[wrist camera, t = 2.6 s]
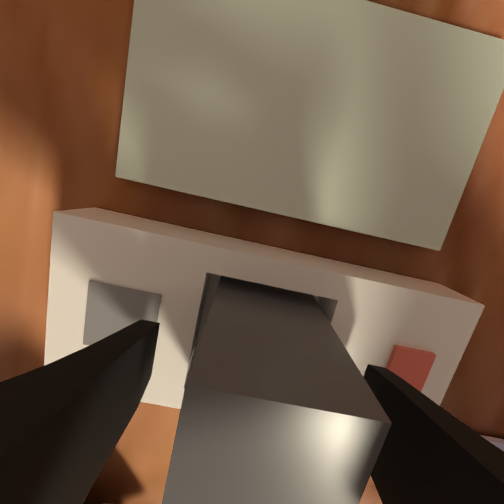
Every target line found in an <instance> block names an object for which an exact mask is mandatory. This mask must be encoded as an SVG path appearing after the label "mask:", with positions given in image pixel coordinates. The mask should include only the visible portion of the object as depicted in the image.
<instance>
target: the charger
mask: <svg viewBox="0 0 504 504" xmlns="http://www.w3.org/2000/svg"><path fill="white" fill-rule="evenodd" d="M391 424H392V423H391V421H390V419H389V418H388V416H387V415H386V413H385V411H384V410H383V408H382V406H381V405H380V403H379V402H378V400H377V398H376V397H375V395H374V393H373V392H372V390H371V389H370V387H369V385H368V384H367V382H366V380H365V379H364V377H363V376H362V374H361V372H360V371H359V369H358V368H357V366H356V364H355V363H354V361H353V359H352V358H351V356H350V355H349V353H348V351H347V350H346V348H345V346H344V345H343V343H342V342H341V340H340V338H339V337H338V335H337V333H336V332H335V330H334V329H333V327H332V325H331V324H330V322H329V321H328V319H327V317H326V316H325V314H324V312H323V311H322V309H321V308H320V306H319V304H318V303H317V301H316V299H315V298H314V296H313V295H311V294H306V293H302V292H297V291H292V290H288V289H283V288H278V287H273V286H269V285H264V284H259V283H255V282H250V281H245V280H240V279H236V278H231V277H226V276H221V278H220V281H219V285H218V288H217V291H216V294H215V297H214V300H213V303H212V306H211V309H210V312H209V315H208V318H207V321H206V324H205V327H204V330H203V333H202V336H201V339H200V342H199V345H198V348H197V351H196V354H195V357H194V361H193V364H192V367H191V370H190V373H189V376H188V379H187V382H186V385H185V390H184V395H183V400H182V405H181V410H180V415H179V420H178V425H177V430H176V435H175V440H174V445H173V450H172V455H171V460H170V465H169V470H168V476H167V481H166V486H165V491H164V496H163V501H162V504H359V502H360V499H361V497H362V494H363V492H364V490H365V487H366V485H367V482H368V480H369V478H370V475H371V473H372V470H373V468H374V465H375V463H376V461H377V458H378V456H379V453H380V451H381V448H382V446H383V444H384V441H385V439H386V436H387V434H388V431H389V429H390V427H391Z"/></svg>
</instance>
